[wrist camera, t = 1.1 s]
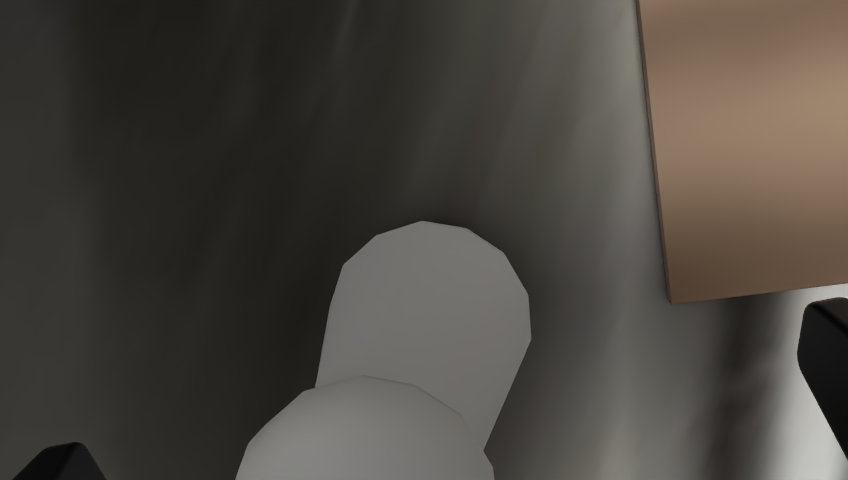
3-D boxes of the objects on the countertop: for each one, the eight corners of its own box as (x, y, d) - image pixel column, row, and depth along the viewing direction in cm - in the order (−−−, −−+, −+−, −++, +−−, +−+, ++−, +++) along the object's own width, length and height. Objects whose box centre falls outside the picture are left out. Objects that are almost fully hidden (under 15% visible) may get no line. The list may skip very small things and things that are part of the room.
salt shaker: (340, 363, 24) (141, 688, 11) (358, 195, 22) (156, 349, 10) (515, 394, 23) (514, 771, 11) (544, 223, 22) (585, 424, 9)
